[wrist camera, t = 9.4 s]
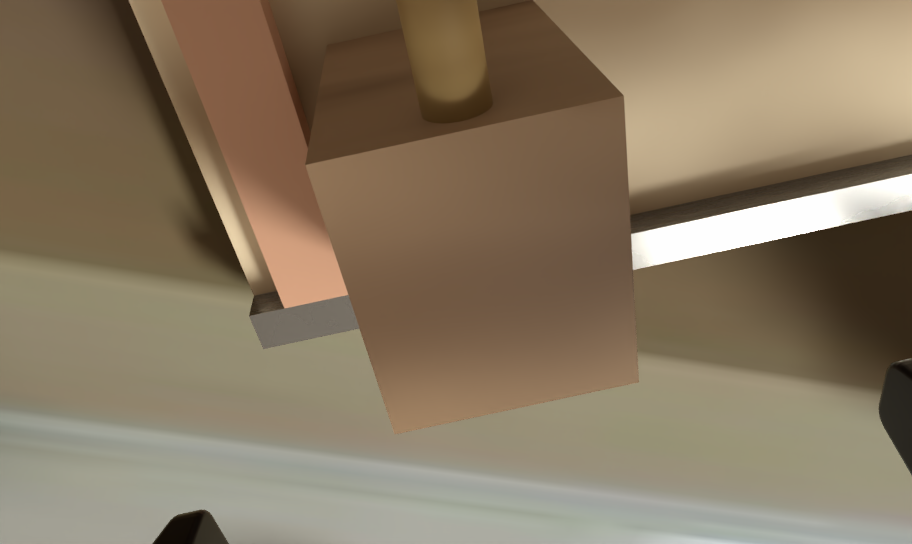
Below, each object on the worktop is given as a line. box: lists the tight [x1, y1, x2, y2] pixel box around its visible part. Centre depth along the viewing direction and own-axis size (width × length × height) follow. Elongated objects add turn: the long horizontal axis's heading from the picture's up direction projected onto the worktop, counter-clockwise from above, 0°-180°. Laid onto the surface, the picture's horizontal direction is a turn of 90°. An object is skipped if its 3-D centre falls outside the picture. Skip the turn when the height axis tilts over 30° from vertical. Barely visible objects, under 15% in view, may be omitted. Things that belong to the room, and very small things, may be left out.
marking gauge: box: [305, 0, 639, 434], centre depth 14 cm, size 10×5×7 cm, turn 11°
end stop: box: [161, 0, 348, 309], centre depth 16 cm, size 13×2×1 cm, turn 11°
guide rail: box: [249, 154, 912, 349], centre depth 20 cm, size 1×22×1 cm, turn 101°
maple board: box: [129, 0, 912, 296], centre depth 18 cm, size 14×22×2 cm, turn 101°
